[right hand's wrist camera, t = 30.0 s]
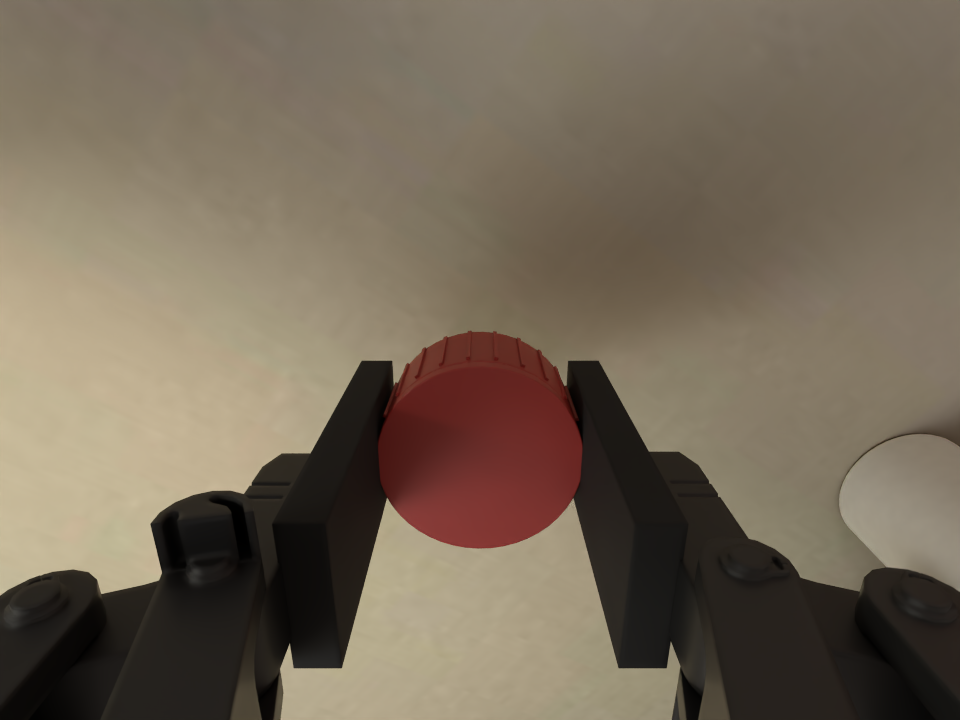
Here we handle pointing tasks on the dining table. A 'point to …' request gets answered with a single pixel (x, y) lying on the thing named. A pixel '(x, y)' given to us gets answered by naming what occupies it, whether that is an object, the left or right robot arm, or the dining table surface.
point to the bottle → (908, 505)
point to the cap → (480, 442)
